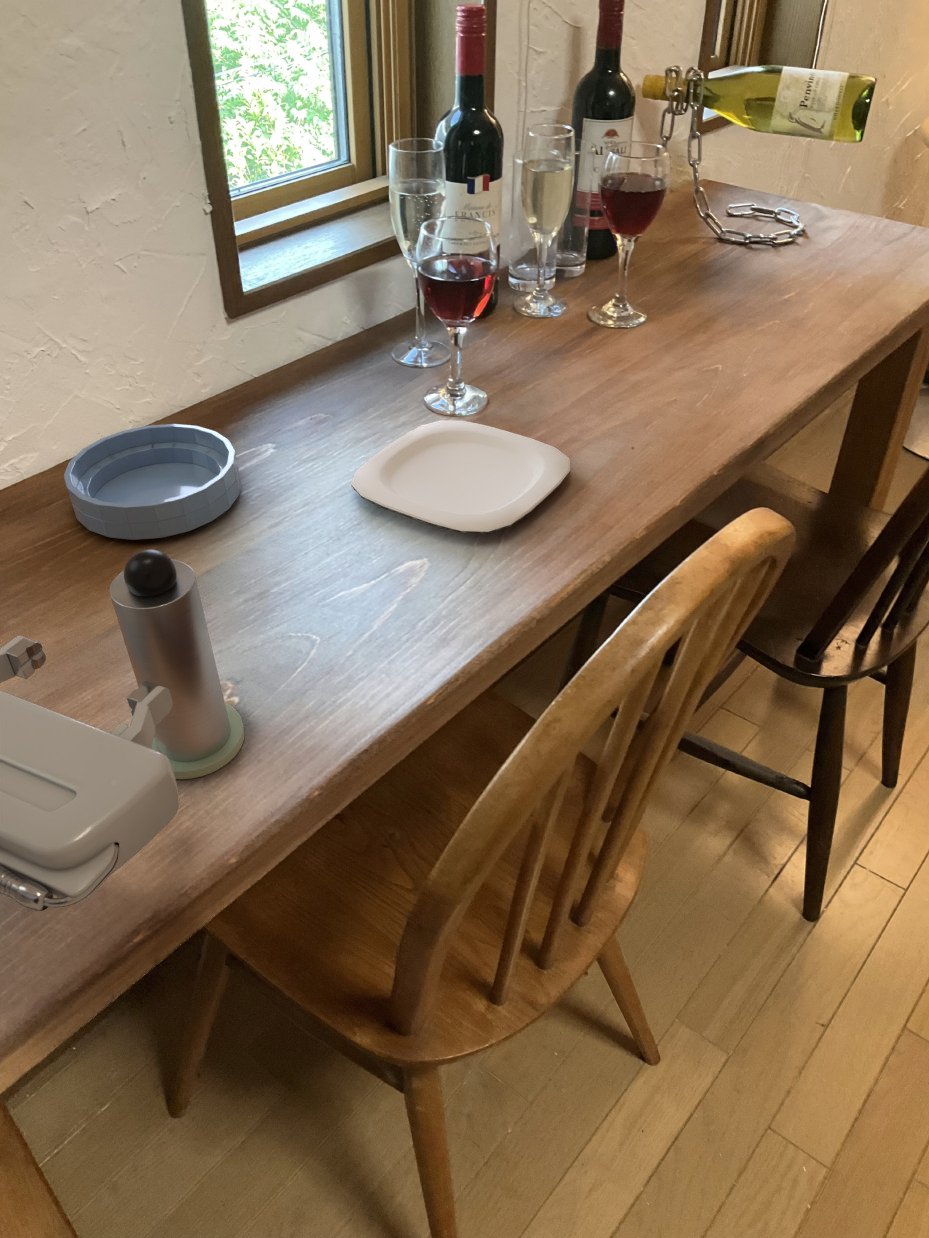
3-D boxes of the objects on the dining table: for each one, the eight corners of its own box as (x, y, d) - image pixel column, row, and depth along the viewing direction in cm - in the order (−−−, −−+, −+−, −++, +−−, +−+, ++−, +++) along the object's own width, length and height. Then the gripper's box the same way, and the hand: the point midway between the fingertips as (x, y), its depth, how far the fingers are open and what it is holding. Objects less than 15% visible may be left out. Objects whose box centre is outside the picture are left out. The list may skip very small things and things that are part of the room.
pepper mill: (163, 771, 63) (107, 588, 54) (149, 722, 67) (94, 542, 57) (238, 748, 65) (196, 565, 55) (221, 701, 68) (179, 522, 59)
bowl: (88, 561, 83) (76, 523, 81) (66, 480, 94) (55, 444, 91) (259, 520, 88) (253, 482, 86) (220, 447, 99) (213, 412, 96)
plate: (437, 424, 102) (437, 409, 101) (589, 469, 94) (590, 453, 93) (329, 500, 90) (328, 484, 89) (493, 559, 83) (493, 542, 82)
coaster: (151, 793, 63) (148, 784, 62) (132, 724, 68) (130, 716, 67) (256, 759, 65) (254, 751, 64) (230, 694, 70) (228, 686, 69)
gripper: (42, 881, 41) (235, 680, 50) (-272, 734, 48) (-49, 582, 57) (80, 963, 45) (252, 762, 54) (-214, 816, 51) (-15, 661, 61)
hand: (96, 669), depth 56 cm, fingers open, 8 cm apart
